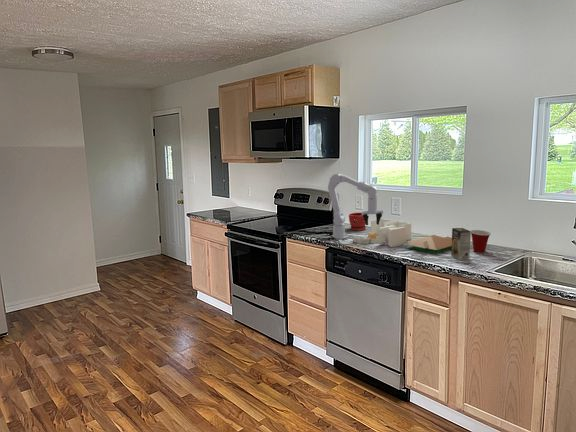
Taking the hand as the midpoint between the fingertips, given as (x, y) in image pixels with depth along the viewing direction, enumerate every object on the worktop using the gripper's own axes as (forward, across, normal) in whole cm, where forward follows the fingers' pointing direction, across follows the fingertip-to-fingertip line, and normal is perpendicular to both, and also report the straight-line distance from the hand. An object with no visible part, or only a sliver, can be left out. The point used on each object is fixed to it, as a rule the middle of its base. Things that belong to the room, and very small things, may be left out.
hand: (372, 224), depth 281 cm
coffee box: (+10, +27, -58) cm, 65 cm away
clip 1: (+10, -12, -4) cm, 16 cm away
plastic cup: (+10, +45, -50) cm, 68 cm away
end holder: (+10, -2, -6) cm, 12 cm away
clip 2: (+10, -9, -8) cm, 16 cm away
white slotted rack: (+10, +14, +1) cm, 17 cm away
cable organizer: (+10, +5, -19) cm, 22 cm away
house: (+11, +26, -32) cm, 43 cm away
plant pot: (+10, +3, +34) cm, 36 cm away
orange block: (+10, -2, -5) cm, 11 cm away
